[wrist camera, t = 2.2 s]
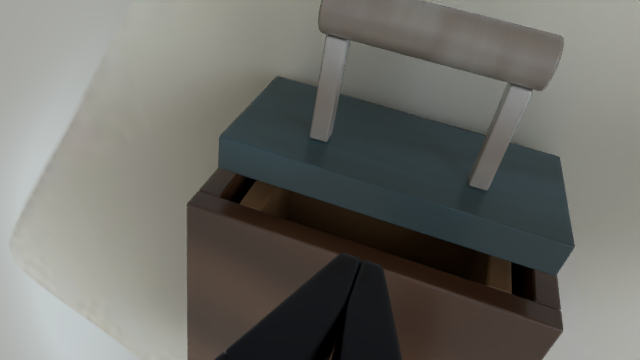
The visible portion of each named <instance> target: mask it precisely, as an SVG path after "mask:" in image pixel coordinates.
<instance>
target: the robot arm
mask: <svg viewBox="0 0 640 360" xmlns="http://www.w3.org/2000/svg"><path fill="white" fill-rule="evenodd" d="M333 349H334V350H333ZM331 355H332V357H331ZM330 358H331V360H402V355H401V350H400V346H399V341H398V336H397V331H396V326H395V322H394V317H393V312H392V307H391V302H390V298H389V293H388V288H387V283H386V278H385V274H384V269H383V267H382V266H381V265H380V264H377V263H374V262H371V261H368V260H363V261H362V262H361V259H360V258H359V257H356V256H353V255H350V254H347V253H340V254H339V255H338V256H337V257H335V258H334V259H333V260H332V261H331V262H329V263H328V264H327V265H326V266H325V267H323V268H322V269H321V270H320V271H319V272H317V273H316V274H315V275H314V276H313V277H312V278H310V279H309V280H308V281H307V282H306V283H304V284H303V285H302V286H301V287H300V288H298V289H297V290H296V291H295V292H294V293H292V294H291V295H290V296H289V297H288V298H287V299H285V300H284V301H283V302H282V303H281V304H279V305H278V306H277V307H276V308H275V309H273V310H272V311H271V312H270V313H269V314H267V315H266V316H265V317H264V318H263V319H262V320H260V321H259V322H258V323H257V324H256V325H254V326H253V327H252V328H251V329H250V330H248V331H247V332H246V333H245V334H244V335H243V336H241V337H240V338H239V339H238V340H237V341H235V342H234V343H233V344H232V345H231V346H229V347H228V348H227V349H226V350H225V353H224V352H222V353H221V354H220V355H218V356H217V357H216V358H215V359H214V360H330Z"/></svg>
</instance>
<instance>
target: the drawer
mask: <svg viewBox="0 0 640 360" xmlns="http://www.w3.org/2000/svg"><path fill="white" fill-rule="evenodd" d="M318 24H319V30H320V31H321V32H322V33H325V34H329V35H328V36H327V37H326V40H325V46H324V52H323V58H322V64H321V70H320V76H319V82H318V88H317V87H314V86H310V85H307V84H303V83H300V82H296V81H293V80H289V79H286V78H282V77H279V76H277V77H276V78H275V79H274V80H273V81H272V82H271V83H270V84H269V85H268V86H267V87H266V88H265V89H264V91H263V92H262V93H261V94H260V95H259V96H258V97H257V98H256V99H255V100H254V101H253V102H252V103H251V104H250V105H249V106H248V107H247V108H246V109H245V110H244V111H243V112H242V113H241V114H240V115H239V116H238V118H237V119H236V120H235V121H234V122H233V123H232V124H231V125H230V126H229V127H228V128H227V129H226V130H225V131H224V132H223V133H222V134H221V135H220V137H219V160H218V167H219V168H220V169H224V170H227V171H230V172H233V173H236V174H239V175H242V176H245V177H248V178H252V179H255V180H256V182H255V183H254V184H253V186H252V187H251V188H250V190H249V191H248V192H247V194H246V195H245V197H244V198H243V199H242V201H241V202H240V203H239V204H241V205H244V206H247V207H250V208H253V209H256V210H259V211H262V212H265V213H268V214H271V215H274V216H277V217H280V218H283V219H286V220H289V221H292V222H295V223H298V224H301V225H304V226H307V227H310V228H313V229H316V230H319V231H322V232H325V233H328V234H331V235H334V236H337V237H340V238H343V239H346V240H349V241H352V242H355V243H358V244H361V245H364V246H367V247H371V248H374V249H377V250H380V251H383V252H386V253H389V254H392V255H395V256H398V257H401V258H404V259H407V260H410V261H413V262H416V263H419V264H422V265H425V266H428V267H431V268H434V269H437V270H440V271H443V272H446V273H449V274H452V275H455V276H458V277H461V278H464V279H467V280H470V281H473V282H476V283H479V284H482V285H485V286H488V287H491V288H494V289H497V290H500V291H503V292H506V293H510V294H512V268H511V262H513V263H516V264H519V265H522V266H525V267H528V268H532V269H535V270H538V271H541V272H544V273H547V274H550V275H553V276H556V275H557V273H558V272H559V270H560V269H561V267H562V266H563V264H564V263H565V261H566V259H567V258H568V256H569V255H570V253H571V252H572V250H573V249H574V247H575V245H574V239H573V234H572V228H571V222H570V216H569V210H568V204H567V198H566V192H565V186H564V180H563V174H562V168H561V162H560V157H558V156H555V155H551V154H548V153H544V152H541V151H537V150H534V149H530V148H527V147H523V146H520V145H517V144H513V143H510V141H511V139H512V137H513V134H514V132H515V130H516V128H517V126H518V124H519V121H520V119H521V117H522V115H523V113H524V110H525V108H526V106H527V104H528V102H529V99H530V97H531V95H532V89H534V90H537V91H542V90H544V89H545V88H546V87H547V85H548V84H549V82H550V81H551V79H552V77H553V75H554V73H555V71H556V69H557V66H558V64H559V61H560V58H561V55H562V51H563V45H564V39H563V37H562V36H560V35H557V34H553V33H549V32H545V31H541V30H537V29H533V28H529V27H525V26H521V25H517V24H513V23H509V22H505V21H501V20H497V19H493V18H489V17H485V16H481V15H477V14H473V13H469V12H465V11H461V10H457V9H453V8H449V7H445V6H441V5H437V4H433V3H429V2H425V1H421V0H322V1H321V5H320V11H319V19H318ZM350 40H351V41H355V42H359V43H362V44H366V45H370V46H373V47H377V48H381V49H385V50H388V51H392V52H396V53H400V54H403V55H407V56H411V57H414V58H418V59H422V60H426V61H429V62H433V63H437V64H441V65H444V66H448V67H452V68H455V69H459V70H463V71H467V72H470V73H474V74H478V75H481V76H485V77H489V78H493V79H496V80H500V81H504V82H508V84H507V86H506V88H505V91H504V93H503V96H502V98H501V100H500V103H499V105H498V107H497V110H496V112H495V115H494V117H493V119H492V122H491V124H490V127H489V129H488V131H487V134H486V136H485V135H482V134H478V133H475V132H471V131H468V130H464V129H461V128H457V127H454V126H450V125H447V124H443V123H440V122H436V121H433V120H429V119H426V118H422V117H419V116H415V115H412V114H408V113H405V112H401V111H398V110H394V109H391V108H387V107H384V106H380V105H377V104H373V103H370V102H366V101H363V100H359V99H356V98H352V97H349V96H345V95H342V94H340V90H341V85H342V80H343V75H344V70H345V65H346V60H347V55H348V50H349V45H350Z"/></svg>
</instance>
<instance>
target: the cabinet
mask: <svg viewBox="0 0 640 360" xmlns="http://www.w3.org/2000/svg"><path fill="white" fill-rule="evenodd" d="M255 182H256V180H255V179H252V178H248V177H245V176H242V175H239V174H236V173H233V172H230V171H227V170H224V169H220V168H218V169H217V170H216V171H215V172H214V174H213V175H212V176H211V177H210V178H209V179H208V180H207V182H206V183H205V184H204V185H203V186H202V187H201V188H200V190H199V191H198V192H197V193H196V194H195V195H194V196H193V197H192V198H191V200H190V201H189V202H188V203H187V333H188V360H214V359H215V358H216V357H217V356H218V355H220V354H221V353H222V352H224V353H225V350H226V349H227V348H228V347H229V346H231V345H232V344H233V343H234V342H235V341H237V340H238V339H239V338H240V337H241V336H243V335H244V334H245V333H246V332H247V331H248V330H250V329H251V328H252V327H253V326H254V325H256V324H257V323H258V322H259V321H260V320H262V319H263V318H264V317H265V316H266V315H267V314H269V313H270V312H271V311H272V310H273V309H275V308H276V307H277V306H278V305H279V304H281V303H282V302H283V301H284V300H285V299H287V298H288V297H289V296H290V295H291V294H292V293H294V292H295V291H296V290H297V289H298V288H300V287H301V286H302V285H303V284H304V283H306V282H307V281H308V280H309V279H310V278H312V277H313V276H314V275H315V274H316V273H317V272H319V271H320V270H321V269H322V268H323V267H325V266H326V265H327V264H328V263H329V262H331V261H332V260H333V259H334V258H335V257H337V256H338V255H339V254H340V253H347V254H350V255H353V256H356V257H359V258H360V259H361V262H362V261H363V260H368V261H371V262H374V263H377V264H380V265H381V266H382V267H383V269H384V274H385V278H386V283H387V288H388V293H389V298H390V302H391V307H392V312H393V317H394V322H395V326H396V331H397V336H398V341H399V346H400V350H401V355H402V360H542V359H543V358H544V356H545V355H546V354H547V352H548V351H549V350H550V348H551V347H552V346H553V344H554V343H555V341H556V340H557V339H558V337H559V336H560V335H561V333H562V332H563V323H562V315H561V311H560V310H561V306H560V298H559V289H558V280H557V275H556V276H553V275H550V274H547V273H544V272H541V271H538V270H535V269H532V268H528V267H525V266H522V265H519V264H516V263H513V262H511V268H512V294H510V293H506V292H503V291H500V290H497V289H494V288H491V287H488V286H485V285H482V284H479V283H476V282H473V281H470V280H467V279H464V278H461V277H458V276H455V275H452V274H449V273H446V272H443V271H440V270H437V269H434V268H431V267H428V266H425V265H422V264H419V263H416V262H413V261H410V260H407V259H404V258H401V257H398V256H395V255H392V254H389V253H386V252H383V251H380V250H377V249H374V248H371V247H367V246H364V245H361V244H358V243H355V242H352V241H349V240H346V239H343V238H340V237H337V236H334V235H331V234H328V233H325V232H322V231H319V230H316V229H313V228H310V227H307V226H304V225H301V224H298V223H295V222H292V221H289V220H286V219H283V218H280V217H277V216H274V215H271V214H268V213H265V212H262V211H259V210H256V209H253V208H250V207H247V206H244V205H241V204H239V203H240V202H241V201H242V199H243V198H244V197H245V195H246V194H247V192H248V191H249V190H250V188H251V187H252V186H253V184H254V183H255ZM333 350H334V349H333ZM331 357H332V355H331ZM330 360H331V358H330Z"/></svg>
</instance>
